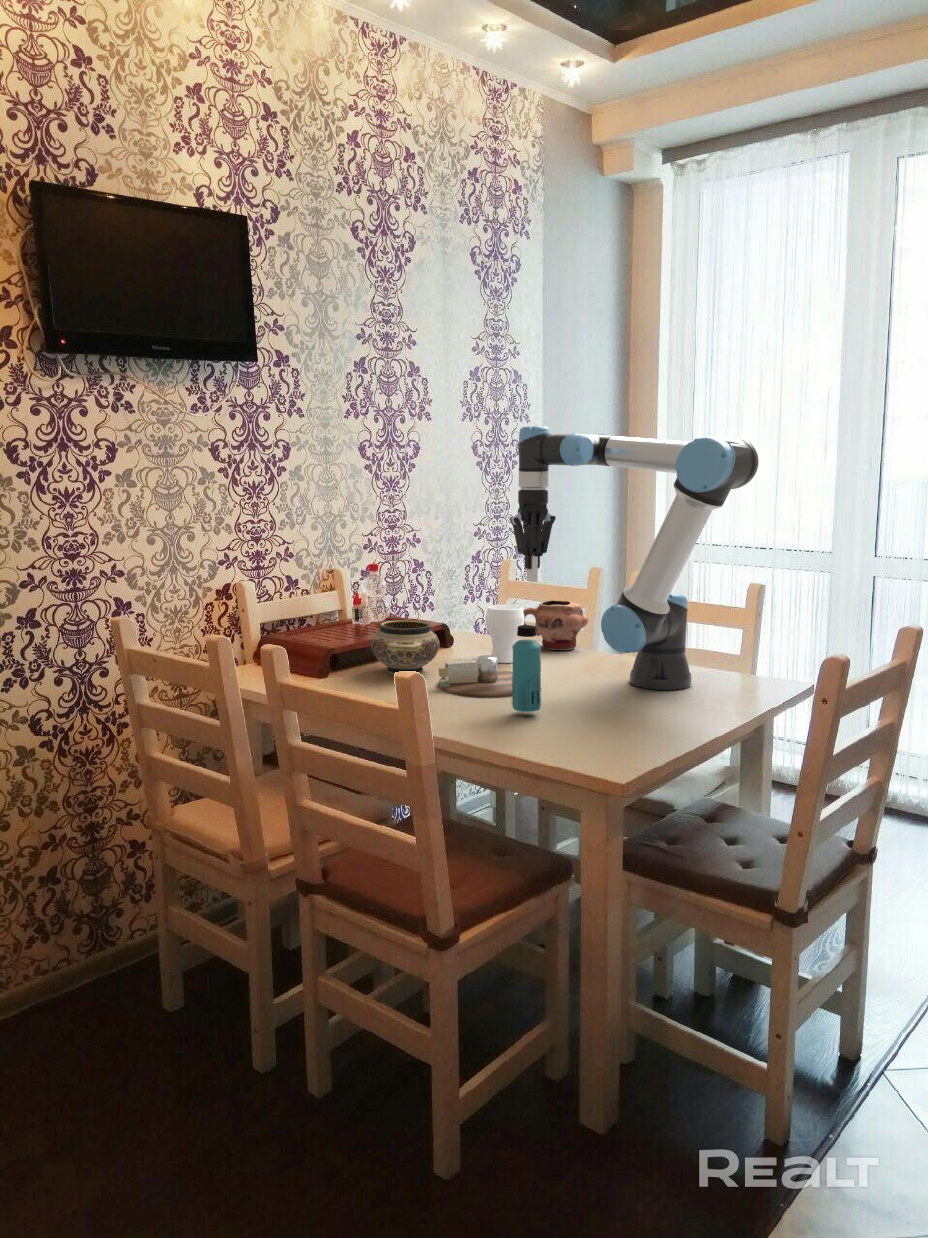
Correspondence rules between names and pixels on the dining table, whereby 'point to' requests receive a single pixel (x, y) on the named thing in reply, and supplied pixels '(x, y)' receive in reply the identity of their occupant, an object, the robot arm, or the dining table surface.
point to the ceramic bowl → (405, 645)
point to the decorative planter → (558, 623)
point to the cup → (504, 629)
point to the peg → (471, 670)
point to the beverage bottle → (526, 671)
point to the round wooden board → (482, 687)
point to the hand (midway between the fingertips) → (532, 581)
